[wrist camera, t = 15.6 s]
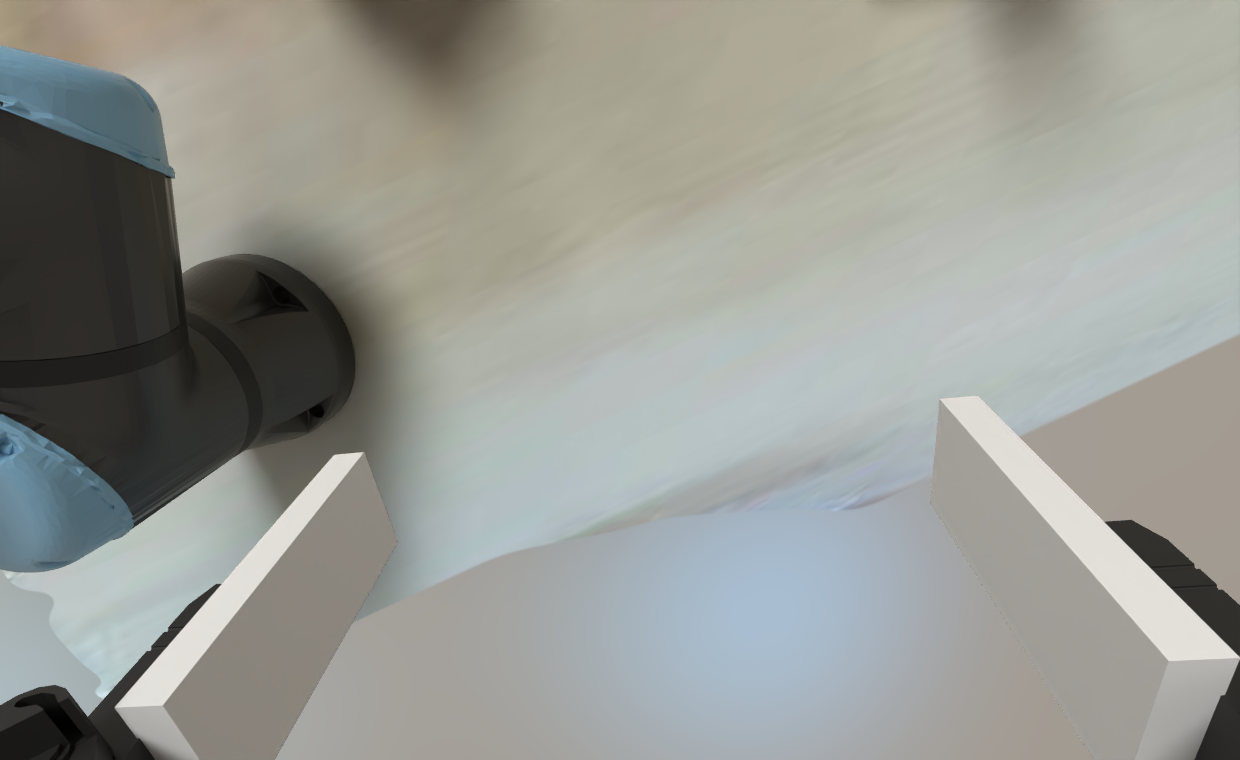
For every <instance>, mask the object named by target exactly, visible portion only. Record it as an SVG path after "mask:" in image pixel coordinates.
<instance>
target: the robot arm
mask: <svg viewBox="0 0 1240 760" xmlns="http://www.w3.org/2000/svg"><path fill="white" fill-rule="evenodd" d="M171 178H173V179H174V178H175V172H174V170H173V168H172V167H171V166H169V163H168V157H167V152H166V146H165V140H164V134H163V128H162V122H161V116H160V112H159V109H158V107H157V105H156V103H155V101H154V100H153V98H152V97H151V96H150V95H149V93H148V92H147V91H146V90H145V89H144V88H142V87H141V86H140V85H139V84H137V83H136V82H134V81H133V80H131V79H129V78H127V77H125V76H123V75H120V74H117V73H113V72H110V71H106V70H102V69H98V68H93V67H89V66H85V65H81V64H77V63H73V62H69V61H65V60H61V59H57V58H52V57H48V56H44V55H40V54H36V53H32V52H28V51H24V50H19V49H15V48H11V47H7V46H3V45H0V569H1V570H6V571H13V572H44V571H50V570H54V569H58V568H61V567H64V566H66V565H69V564H71V563H73V562H75V561H77V560H79V559H80V558H82V557H84V556H85V555H87V554H89V553H91V552H92V551H94V550H96V549H97V548H99V547H101V546H102V545H104V544H106V543H107V542H109V541H111V540H115V539H118V538H121V537H123V536H124V535H126V534H127V533H128V532H129V531H130V530H131V529H132V528H134V527H135V526H137V525H138V524H140V523H141V522H142V521H144V520H145V519H147V518H148V517H150V516H151V515H152V514H154V513H155V512H157V511H158V510H160V509H161V508H162V507H164V506H165V505H167V504H168V503H170V502H171V501H172V500H174V499H175V498H177V497H178V496H179V495H181V494H182V493H184V492H185V491H187V490H188V489H189V488H191V487H192V486H194V485H195V484H197V483H198V482H199V481H201V480H202V479H204V478H205V477H207V476H208V475H209V474H211V473H212V472H214V471H215V470H217V469H218V468H219V467H221V466H222V465H224V464H225V463H226V462H228V461H229V460H231V459H232V458H234V457H235V456H237V455H238V454H240V453H241V452H243V451H244V450H248V449H252V448H256V447H260V446H265V445H269V444H273V443H277V442H282V441H286V440H290V439H294V438H297V437H300V436H303V435H305V434H307V433H309V432H311V431H313V430H315V429H316V428H318V427H319V426H320V425H322V424H323V423H325V422H326V421H327V420H329V419H330V418H331V417H333V416H334V415H335V414H336V413H337V412H338V411H339V410H340V409H341V408H342V406H343V405H344V403H345V402H346V400H347V398H348V396H349V394H350V391H351V388H352V385H353V380H354V371H355V362H354V353H353V347H352V343H351V340H350V337H349V334H348V331H347V329H346V326H345V324H344V322H343V320H342V318H341V316H340V315H339V313H338V311H337V310H336V308H335V307H334V305H333V304H332V303H331V301H330V300H329V299H328V298H327V296H326V295H325V294H324V293H323V292H322V291H321V290H320V289H319V288H318V287H317V286H316V285H315V284H314V283H313V282H312V281H311V280H309V279H308V278H307V277H305V276H304V275H303V274H301V273H300V272H298V271H297V270H295V269H293V268H292V267H290V266H288V265H286V264H284V263H282V262H279V261H277V260H274V259H271V258H268V257H264V256H259V255H252V254H236V255H229V256H225V257H221V258H217V259H214V260H210V261H206V262H203V263H201V264H198V265H196V266H194V267H192V268H190V269H189V270H187V271H185V272H184V273H183V274H182V270H181V261H180V252H179V244H178V235H177V226H176V217H175V208H174V199H173V190H172V181H171ZM930 504H931V505H932V507H933V508H934V510H935V511H936V513H937V515H938V516H939V518H940V519H941V521H942V522H943V524H944V526H945V527H946V529H947V530H948V532H949V534H950V535H951V537H952V538H953V540H954V541H955V543H956V545H957V546H958V548H959V549H960V551H961V552H962V554H963V556H964V557H965V558H966V560H967V562H968V563H969V565H970V567H971V568H972V570H973V571H974V573H975V574H976V576H977V577H978V579H979V581H980V582H981V584H982V585H983V587H984V589H985V590H986V592H987V593H988V595H989V596H990V598H991V599H992V601H993V603H994V604H995V606H996V607H997V609H998V610H999V612H1000V614H1001V615H1002V617H1003V618H1004V620H1005V621H1006V623H1007V625H1008V626H1009V628H1010V629H1011V631H1012V632H1013V634H1014V636H1015V637H1016V639H1017V640H1018V642H1019V643H1020V645H1021V647H1022V648H1023V649H1024V651H1025V653H1026V654H1027V656H1028V658H1029V659H1030V661H1031V662H1032V664H1033V665H1034V667H1035V668H1036V670H1037V672H1038V673H1039V675H1040V676H1041V678H1042V680H1043V681H1044V683H1045V684H1046V686H1047V687H1048V689H1049V691H1050V692H1051V694H1052V695H1053V697H1054V698H1055V700H1056V702H1057V703H1058V705H1059V706H1060V708H1061V709H1062V711H1063V713H1064V714H1065V715H1066V717H1067V719H1068V720H1069V722H1070V723H1071V725H1072V726H1073V728H1074V730H1075V731H1076V733H1077V734H1078V736H1079V738H1080V739H1081V741H1082V742H1083V744H1084V745H1085V747H1086V749H1087V750H1088V752H1089V753H1090V755H1091V756H1092V758H1093V760H1240V605H1239V604H1237V602H1236V601H1234V600H1233V599H1232V598H1231V597H1230V596H1229V595H1228V594H1227V593H1225V592H1224V591H1223V590H1218V588H1217V585H1216V583H1215V582H1214V581H1212V580H1211V579H1210V578H1209V577H1208V576H1207V575H1206V574H1204V572H1202V571H1201V570H1200V569H1196V568H1195V567H1194V563H1192V562H1191V561H1190V560H1189V559H1188V558H1187V557H1186V556H1185V555H1184V554H1183V553H1182V552H1180V551H1179V550H1178V549H1177V548H1176V547H1175V546H1174V545H1173V544H1171V543H1170V542H1169V541H1168V540H1167V539H1165V538H1163V537H1162V536H1160V535H1158V534H1156V533H1154V532H1152V531H1151V530H1149V529H1147V528H1145V527H1143V526H1141V525H1139V524H1138V523H1136V522H1134V521H1132V520H1124V521H1109V522H1104V521H1103V520H1102V519H1101V518H1099V516H1098V515H1097V514H1096V513H1095V512H1094V511H1092V510H1091V509H1090V508H1089V507H1088V506H1087V505H1086V504H1085V503H1084V502H1083V501H1082V500H1081V499H1080V498H1079V497H1078V496H1077V495H1076V494H1075V493H1074V492H1073V491H1072V490H1071V489H1070V488H1069V487H1068V486H1067V485H1066V484H1065V483H1064V482H1063V481H1062V480H1061V479H1060V478H1059V477H1058V476H1057V475H1056V474H1055V473H1054V472H1053V471H1052V470H1051V469H1050V468H1049V467H1048V466H1047V465H1046V464H1045V463H1044V462H1043V461H1042V460H1041V459H1040V458H1039V457H1038V456H1037V455H1036V454H1035V453H1034V452H1033V451H1032V450H1031V449H1030V448H1029V447H1028V446H1027V445H1026V444H1025V443H1024V442H1023V441H1022V440H1021V439H1020V438H1019V437H1018V436H1017V435H1016V434H1015V433H1014V432H1013V431H1012V430H1011V429H1010V428H1009V427H1008V426H1007V425H1006V424H1005V423H1004V422H1003V421H1002V420H1001V419H1000V418H999V417H998V416H997V415H996V414H995V413H994V412H993V411H992V410H991V409H990V408H989V407H988V406H987V405H986V404H985V403H984V402H983V401H982V400H981V399H980V398H979V397H978V396H969V397H958V398H947V399H940V402H939V412H938V423H937V434H936V444H935V455H934V466H933V476H932V488H931V498H930ZM397 543H398V541H397V538H396V536H395V533H394V530H393V528H392V525H391V522H390V520H389V517H388V514H387V512H386V509H385V506H384V504H383V501H382V498H381V496H380V493H379V490H378V488H377V485H376V482H375V480H374V477H373V474H372V472H371V469H370V466H369V464H368V461H367V458H366V456H365V453H364V452H359V453H349V454H338V455H334V456H333V457H332V458H331V459H330V460H329V461H328V462H327V464H326V465H325V466H324V467H323V468H322V469H321V470H320V472H319V473H318V474H317V475H316V476H315V477H314V479H313V480H312V481H311V482H310V483H309V484H308V485H307V487H306V488H305V489H304V490H303V491H302V492H301V493H300V495H299V496H298V497H297V498H296V499H295V500H294V502H293V503H292V504H291V505H290V506H289V507H288V508H287V510H286V511H285V512H284V513H283V514H282V515H281V516H280V518H279V519H278V520H277V521H276V522H275V523H274V525H273V526H272V527H271V528H270V529H269V530H268V531H267V533H266V534H265V535H264V536H263V537H262V538H261V539H260V541H259V542H258V543H257V544H256V545H255V546H254V548H253V549H252V550H251V551H250V552H249V553H248V554H247V556H246V557H245V558H244V559H243V560H242V561H241V562H240V564H239V565H238V566H237V567H236V568H235V569H234V571H233V572H232V573H231V574H230V575H229V576H228V577H227V579H226V580H225V581H224V582H223V583H222V584H216V585H214V586H213V587H212V588H210V589H209V590H208V591H206V592H205V593H204V594H202V595H201V596H200V597H198V598H197V599H196V600H194V601H193V602H192V603H190V604H189V605H188V606H187V607H186V608H185V609H184V611H183V612H182V613H181V614H180V615H179V616H178V617H177V618H176V619H175V621H174V622H173V623H172V624H171V625H170V626H169V627H168V632H164V633H163V634H162V635H161V636H160V637H159V638H158V639H157V641H156V642H155V643H154V644H153V645H152V646H151V647H152V648H151V651H147V652H146V653H145V654H144V655H143V656H142V657H141V658H140V659H139V661H138V662H137V663H136V664H135V665H134V666H133V667H132V668H131V670H130V671H129V672H128V673H127V674H126V675H125V676H124V677H123V678H122V680H121V681H120V682H119V683H118V684H117V685H116V686H115V687H114V688H113V690H112V691H111V692H110V693H109V694H108V695H107V696H106V697H105V698H104V700H103V701H102V702H101V703H100V704H99V705H98V706H97V707H96V708H95V710H94V711H93V712H92V713H91V714H90V715H89V716H88V717H87V716H86V714H85V713H84V712H83V710H82V709H81V708H80V706H79V705H78V704H77V702H76V701H75V700H74V699H73V697H72V696H71V695H70V693H69V692H68V691H67V689H65V688H63V687H59V686H56V685H52V686H45V687H39V688H36V689H34V690H31V691H28V692H25V693H23V694H20V695H18V696H16V697H14V698H12V699H11V700H9V701H7V702H5V703H4V704H2V705H0V760H275V758H276V756H277V755H278V753H279V751H280V749H281V747H282V746H283V744H284V742H285V740H286V739H287V737H288V735H289V733H290V732H291V730H292V728H293V726H294V725H295V723H296V721H297V719H298V718H299V716H300V714H301V712H302V711H303V709H304V707H305V705H306V703H307V702H308V700H309V698H310V696H311V695H312V693H313V691H314V689H315V687H316V686H317V684H318V682H319V680H320V679H321V677H322V675H323V674H324V672H325V670H326V668H327V666H328V665H329V663H330V661H331V659H332V658H333V656H334V654H335V652H336V651H337V649H338V647H339V645H340V643H341V642H342V640H343V638H344V636H345V634H346V633H347V631H348V629H349V628H350V626H351V624H352V622H353V621H354V619H355V617H356V615H357V614H358V612H359V610H360V608H361V607H362V605H363V603H364V601H365V599H366V598H367V596H368V594H369V592H370V591H371V589H372V587H373V585H374V584H375V582H376V580H377V578H378V577H379V575H380V573H381V571H382V569H383V568H384V566H385V564H386V562H387V561H388V559H389V557H390V555H391V554H392V552H393V550H394V548H395V547H396V545H397Z"/></svg>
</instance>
